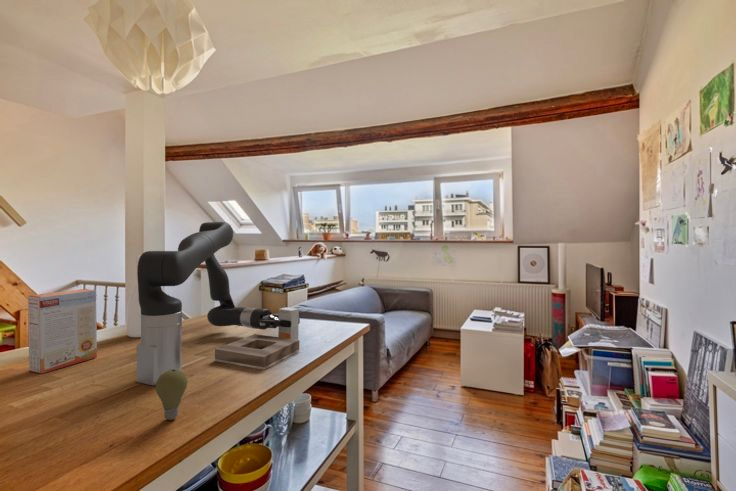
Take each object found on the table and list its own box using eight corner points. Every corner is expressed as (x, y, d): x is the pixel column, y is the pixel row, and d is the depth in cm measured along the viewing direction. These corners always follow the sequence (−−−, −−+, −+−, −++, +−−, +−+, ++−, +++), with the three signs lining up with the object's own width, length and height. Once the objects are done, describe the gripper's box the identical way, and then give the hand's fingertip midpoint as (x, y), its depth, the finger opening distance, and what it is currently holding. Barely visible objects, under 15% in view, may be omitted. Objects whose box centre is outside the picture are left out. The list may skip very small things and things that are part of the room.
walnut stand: (264, 369, 96) (264, 357, 96) (214, 360, 103) (214, 348, 103) (299, 350, 113) (299, 340, 113) (254, 344, 120) (255, 334, 120)
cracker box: (84, 355, 106) (84, 288, 106) (97, 358, 104) (97, 289, 104) (26, 371, 93) (26, 294, 93) (40, 374, 91) (40, 296, 91)
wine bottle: (120, 337, 126) (120, 256, 125) (138, 331, 135) (138, 254, 135) (145, 338, 125) (146, 256, 125) (162, 331, 135) (162, 255, 134)
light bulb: (192, 412, 72) (192, 365, 72) (178, 426, 67) (178, 375, 67) (165, 412, 72) (165, 365, 72) (149, 426, 67) (149, 375, 66)
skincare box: (277, 342, 123) (278, 308, 122) (285, 339, 126) (286, 306, 126) (291, 344, 120) (291, 310, 120) (298, 341, 123) (299, 308, 123)
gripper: (242, 311, 121) (283, 316, 115) (268, 304, 135) (305, 308, 128) (242, 332, 121) (283, 338, 115) (268, 324, 135) (305, 328, 129)
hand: (294, 322), depth 122 cm, fingers closed on skincare box, 4 cm apart
